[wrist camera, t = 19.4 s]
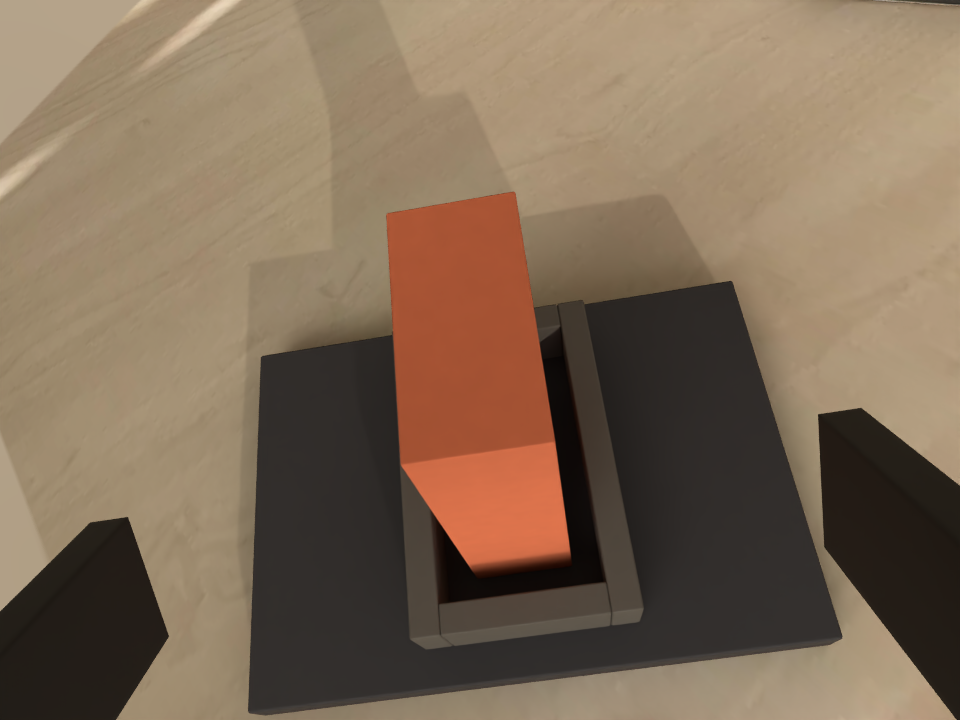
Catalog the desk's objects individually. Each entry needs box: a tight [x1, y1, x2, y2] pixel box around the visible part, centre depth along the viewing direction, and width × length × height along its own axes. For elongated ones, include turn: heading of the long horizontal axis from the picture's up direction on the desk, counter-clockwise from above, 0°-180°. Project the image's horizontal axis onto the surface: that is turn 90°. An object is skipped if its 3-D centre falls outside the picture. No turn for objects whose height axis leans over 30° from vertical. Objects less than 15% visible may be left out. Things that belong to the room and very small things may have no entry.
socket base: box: [248, 281, 842, 715], centre depth 28 cm, size 20×14×4 cm
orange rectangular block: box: [386, 192, 572, 579], centre depth 23 cm, size 3×7×12 cm, turn 6°
